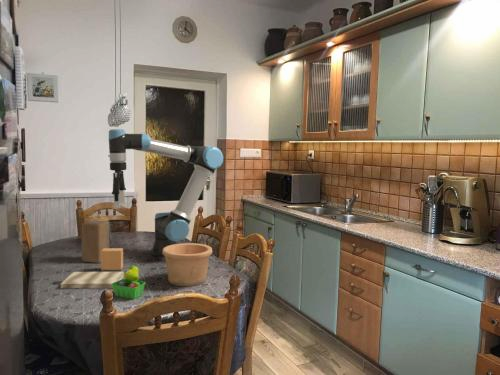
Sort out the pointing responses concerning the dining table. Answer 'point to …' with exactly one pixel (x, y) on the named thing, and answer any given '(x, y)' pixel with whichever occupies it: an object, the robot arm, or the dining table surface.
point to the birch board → (92, 279)
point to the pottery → (187, 263)
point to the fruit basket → (129, 284)
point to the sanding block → (112, 260)
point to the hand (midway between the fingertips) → (119, 205)
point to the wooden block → (94, 240)
